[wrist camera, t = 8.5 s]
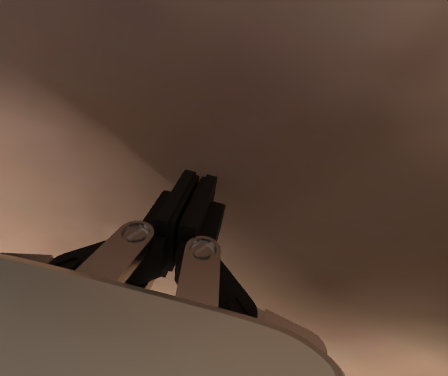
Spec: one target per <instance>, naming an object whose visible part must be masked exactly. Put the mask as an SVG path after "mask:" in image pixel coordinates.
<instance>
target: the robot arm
mask: <svg viewBox="0 0 448 376" xmlns="http://www.w3.org/2000/svg"><path fill="white" fill-rule="evenodd" d="M216 182H217V177H215V176H211V175H206V177H203V176H202V177H201V179H200V182H199V176H198V175H196V172H193V171H189V170H185V171H184V172H183V174H182V175H181V177H180V179H179V180H178V182H177V183H176V185H175V186H174V188H173V190H172V191H171V192H170V191H165V190H164V191H163V192H162V193H161V195H160V196H159V198H158V199H157V201H156V202H155V204H154V205H153V207H152V208H151V209H150V211H149V212H148V214H147V215H146V217H145V218H144V220H143V221H131V222H128V223H125V224H124V225H122V226H121V227H120V228H119V229H118V230H117V231H116V232H115V233H114V234H113V235H112V236H111V237H110V238H108V239H107V240H106V241H103V242H99V243H96V244H93V245H90V246H87V247H83V248H80V249H77V250H74V251H71V252H67V253H64V254H62V255H59V256H57V257H56V258H53V256H52V255H40V254H17V253H0V376H345V374H344V373H343V371H342V370H341V368H340V367H339V366H338V365H337V364H336V363H335V361H334V360H333V359H332V358H331V357H329V356H328V355H327V349H326V347H325V345H324V343H323V341H322V340H321V339H320V338H319V336H317V335H316V334H314V333H313V332H311V331H309V330H307V329H305V328H303V327H301V326H299V325H297V324H295V323H293V322H291V321H289V320H287V319H285V318H283V317H281V316H279V315H277V314H275V313H273V312H271V311H269V310H267V309H265V311H263V310H261V309H259V308H257V307H256V305H255V303H254V302H253V300H252V299H251V298H250V296H249V295H248V294H247V293H246V291H245V290H244V289H243V288H242V286H241V285H240V284H239V282H238V281H237V280H236V279H235V277H234V276H233V275H232V274H231V272H230V271H229V270H228V269H227V267H226V266H225V265H224V263H223V262H222V261H221V260H220V254H221V250H220V246H219V244H218V243H217V240H218V236H219V232H220V228H221V224H222V220H223V215H224V210H225V204H221V203H217V202H213V200H214V194H215V188H216ZM174 266H175V281H176V283H177V285H178V286H177V291H176V296H172V295H169V294H165V293H161V292H157V291H153V290H150V288H151V287H152V285H153V283H154V279H156V278H159V277H166V275H167V273H168V271H171V272H172V271H173V268H174Z"/></svg>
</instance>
